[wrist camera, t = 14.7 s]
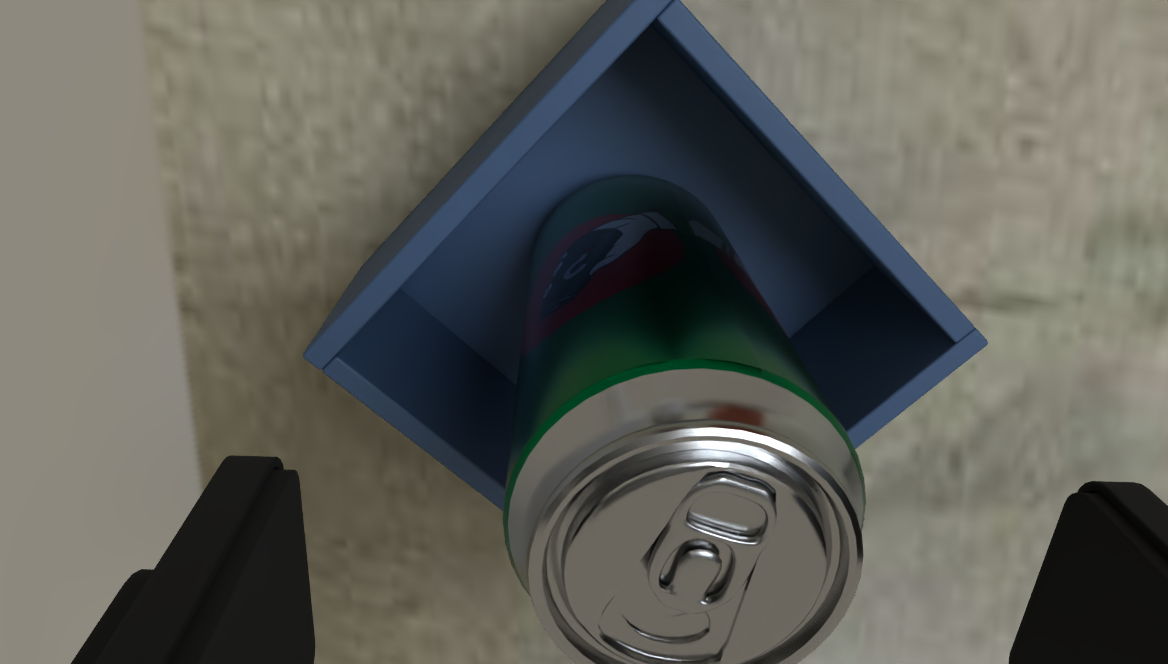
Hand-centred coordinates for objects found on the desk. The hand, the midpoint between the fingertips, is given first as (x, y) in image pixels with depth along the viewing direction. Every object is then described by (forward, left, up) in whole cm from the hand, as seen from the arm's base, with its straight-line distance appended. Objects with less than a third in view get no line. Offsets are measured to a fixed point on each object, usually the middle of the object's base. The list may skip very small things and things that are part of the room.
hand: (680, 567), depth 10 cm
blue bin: (+1, 0, -13) cm, 13 cm away
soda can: (0, 0, -13) cm, 13 cm away
